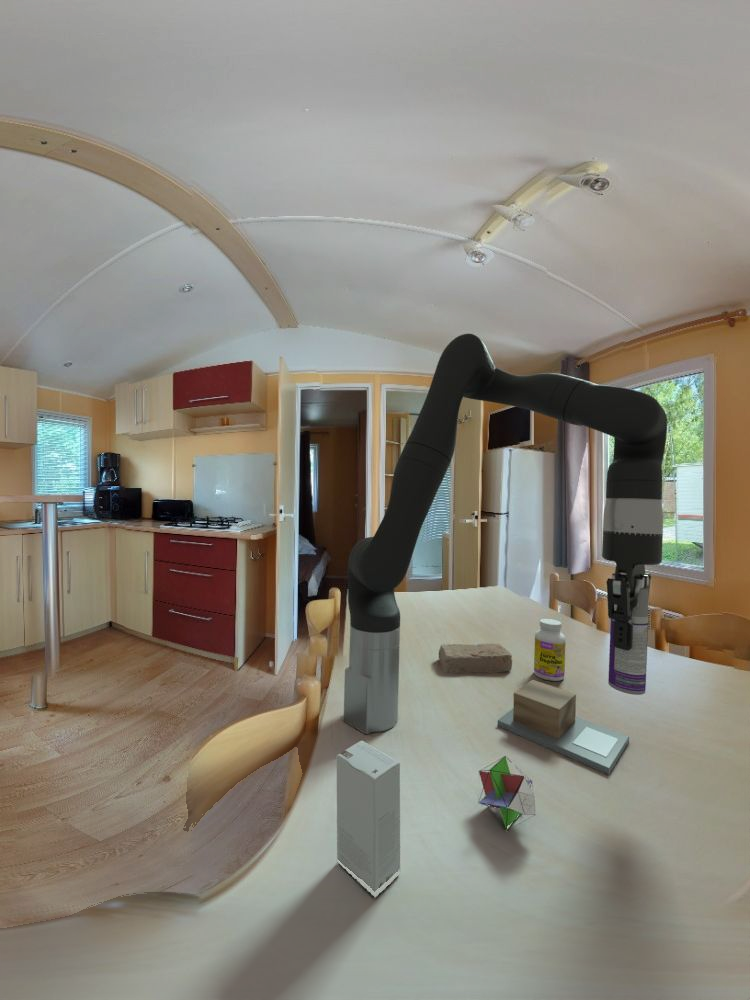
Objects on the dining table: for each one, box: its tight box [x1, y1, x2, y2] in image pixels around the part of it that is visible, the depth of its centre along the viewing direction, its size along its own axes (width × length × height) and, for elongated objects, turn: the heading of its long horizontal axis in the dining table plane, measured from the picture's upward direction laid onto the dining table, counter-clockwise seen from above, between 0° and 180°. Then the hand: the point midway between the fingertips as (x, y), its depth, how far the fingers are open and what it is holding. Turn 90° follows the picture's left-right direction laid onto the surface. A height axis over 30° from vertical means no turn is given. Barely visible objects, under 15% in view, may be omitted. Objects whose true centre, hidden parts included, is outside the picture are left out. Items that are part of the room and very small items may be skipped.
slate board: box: [497, 708, 630, 775], centre depth 71 cm, size 12×18×1 cm, turn 45°
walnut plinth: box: [512, 679, 577, 739], centre depth 73 cm, size 8×8×5 cm
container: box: [607, 587, 649, 696], centre depth 59 cm, size 5×5×15 cm
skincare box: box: [335, 740, 401, 892], centre depth 44 cm, size 6×4×12 cm
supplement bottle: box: [533, 618, 567, 682], centre depth 95 cm, size 7×7×13 cm
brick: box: [438, 643, 513, 673], centre depth 100 cm, size 17×8×5 cm, turn 94°
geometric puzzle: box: [477, 754, 537, 831], centre depth 51 cm, size 7×7×8 cm
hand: (627, 644), depth 59 cm, fingers closed on container, 4 cm apart
